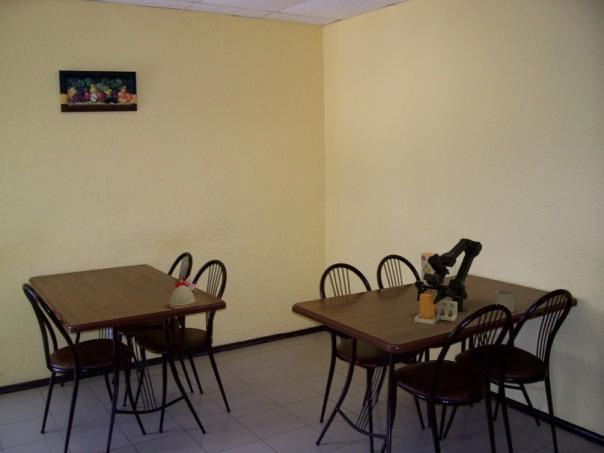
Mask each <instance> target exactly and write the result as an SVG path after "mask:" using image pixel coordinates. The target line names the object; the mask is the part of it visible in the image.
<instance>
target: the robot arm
mask: <svg viewBox="0 0 604 453" xmlns="http://www.w3.org/2000/svg"><path fill="white" fill-rule="evenodd" d="M482 249H483V244H482V243H481V242H480V241H476V240H475V241H474V240H472V239H470V238H463V237H461V238H460V239H459V241H458V242H457V243H456V244H455V245H454V246H453V247H452V248H451V249H450V250H449V251H447V252H444V253H442V254H439V253H433V254H434V255H433V256H431V257H429V258H428V263H429V265H430V266H431V268H432V269H433V270H434V271H435V272H434V274H427V273H425V274H424V278H423V280H426V283H428V285H425V284H424V282H423V281H421V280H415V282H414V284H413V286H414V287H415V289H416V290H417V295H416V296H417V297H416V301H417V302H419V303H420V294H423V293H426V291H427V289H430V290H435V291H438V292H437V294H436V295H435V300H434V302H433V304H434V305H435V304H436V303H438V302H439V301H441V300H444V299H445V298H448V299H449V298H450V299H451V301H452V302H457V312H464V311H465V310H466V307H464V301H465V300H467V299H468V296H469V294H468V293H467V291H466V284H465V281H466V280H467V279H466V278H467V277H468V275H469V272H470V269H471V267H472V264H473V261H474V259H475V258H476V257H478V256H479V255H480V253H481V252H482ZM463 253H464V256H463V259H462V261H461V264H460V265H459V268H458V270H457V273H456V275H455V278H452V279H451V278H450V280H449V281H448V282H449V283H448V284H447V285H446V284H445V278H446V276H447V275H449V276H450V274H451V273H450V271H449V268H453V267H454V266H455V265H456V263H457V259H458V258H459V257H460V256H461V255H462V254H463ZM430 290H429V291H430Z"/></svg>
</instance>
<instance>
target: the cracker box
mask: <svg viewBox="0 0 604 453" xmlns="http://www.w3.org/2000/svg"><path fill="white" fill-rule="evenodd" d="M434 254H435V253H432V252H422V253H421V258H420V259H421V260H420V262H421V267H420V268H421V269H420V270H421V271H420V272H421V277H420V278H421V279H420V281H423V282H424V284H425V285H428V283H426V280H423V278H424V274H425V273H427V274H434V272H435V271H434V270H433V269H432V268H431V266H430V265H429V263H428V258H429V257H431V256H433V255H434ZM427 291H430V292H432V291H435V290H430V289H428V290H427Z"/></svg>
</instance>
